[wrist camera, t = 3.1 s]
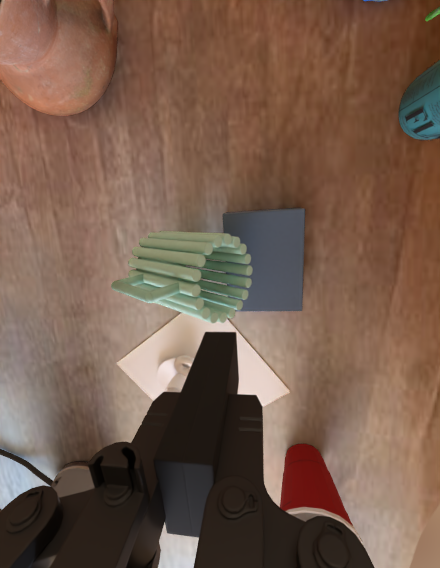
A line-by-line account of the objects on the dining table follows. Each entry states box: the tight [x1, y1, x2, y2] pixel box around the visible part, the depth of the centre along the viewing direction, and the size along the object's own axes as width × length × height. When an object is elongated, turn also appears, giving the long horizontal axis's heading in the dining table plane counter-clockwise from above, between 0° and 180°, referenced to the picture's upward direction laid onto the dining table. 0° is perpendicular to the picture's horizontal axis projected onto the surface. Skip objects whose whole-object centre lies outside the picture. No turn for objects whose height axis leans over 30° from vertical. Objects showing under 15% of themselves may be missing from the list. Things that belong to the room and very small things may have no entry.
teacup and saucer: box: [155, 354, 194, 392], centre depth 40 cm, size 9×8×4 cm
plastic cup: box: [280, 444, 363, 545], centre depth 38 cm, size 11×11×12 cm
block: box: [223, 208, 305, 311], centre depth 33 cm, size 9×12×4 cm
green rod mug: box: [111, 231, 253, 324], centre depth 29 cm, size 14×9×15 cm, turn 94°
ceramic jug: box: [0, 0, 118, 116], centre depth 24 cm, size 18×14×14 cm
